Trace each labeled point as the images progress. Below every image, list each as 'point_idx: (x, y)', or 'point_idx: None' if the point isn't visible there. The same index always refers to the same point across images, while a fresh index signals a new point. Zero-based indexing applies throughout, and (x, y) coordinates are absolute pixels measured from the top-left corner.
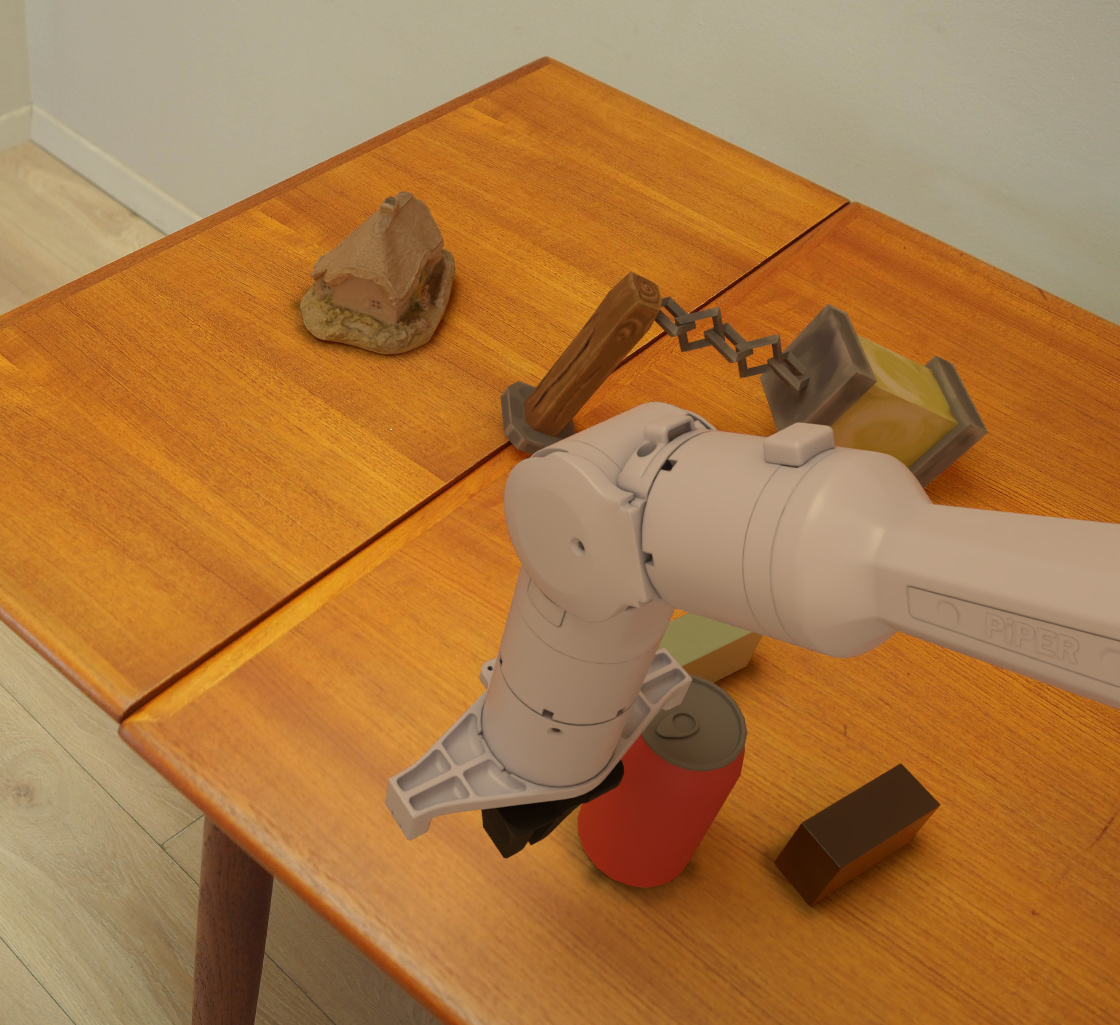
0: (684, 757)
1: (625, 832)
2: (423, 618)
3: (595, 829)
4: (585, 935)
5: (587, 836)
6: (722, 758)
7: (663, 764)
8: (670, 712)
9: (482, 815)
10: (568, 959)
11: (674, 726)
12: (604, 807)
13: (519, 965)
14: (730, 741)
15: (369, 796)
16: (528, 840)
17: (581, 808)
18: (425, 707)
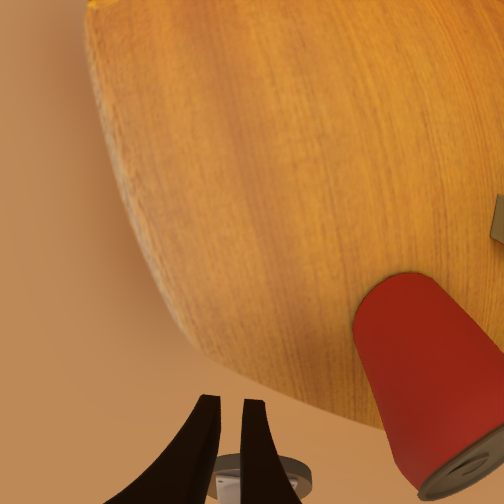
0: (433, 488)
1: (372, 387)
2: (391, 13)
3: (366, 340)
4: (304, 353)
5: (362, 321)
6: (451, 488)
7: (415, 484)
8: (482, 452)
9: (193, 409)
10: (280, 359)
11: (464, 471)
12: (378, 367)
13: (244, 345)
14: (474, 474)
15: (215, 147)
16: (211, 476)
17: (381, 297)
18: (334, 88)
